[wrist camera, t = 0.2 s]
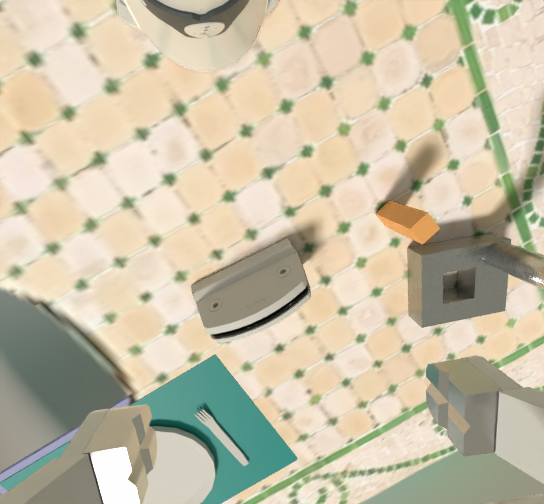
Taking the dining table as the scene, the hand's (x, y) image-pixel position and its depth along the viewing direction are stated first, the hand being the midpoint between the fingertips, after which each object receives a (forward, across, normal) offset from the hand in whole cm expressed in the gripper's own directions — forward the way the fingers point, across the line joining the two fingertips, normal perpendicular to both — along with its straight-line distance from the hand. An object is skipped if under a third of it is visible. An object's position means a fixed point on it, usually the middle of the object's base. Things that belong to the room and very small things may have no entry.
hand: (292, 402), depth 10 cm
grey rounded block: (+40, +2, +9) cm, 41 cm away
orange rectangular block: (+40, -20, +1) cm, 45 cm away
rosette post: (+41, -30, +9) cm, 52 cm away
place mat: (+42, +22, +42) cm, 64 cm away
